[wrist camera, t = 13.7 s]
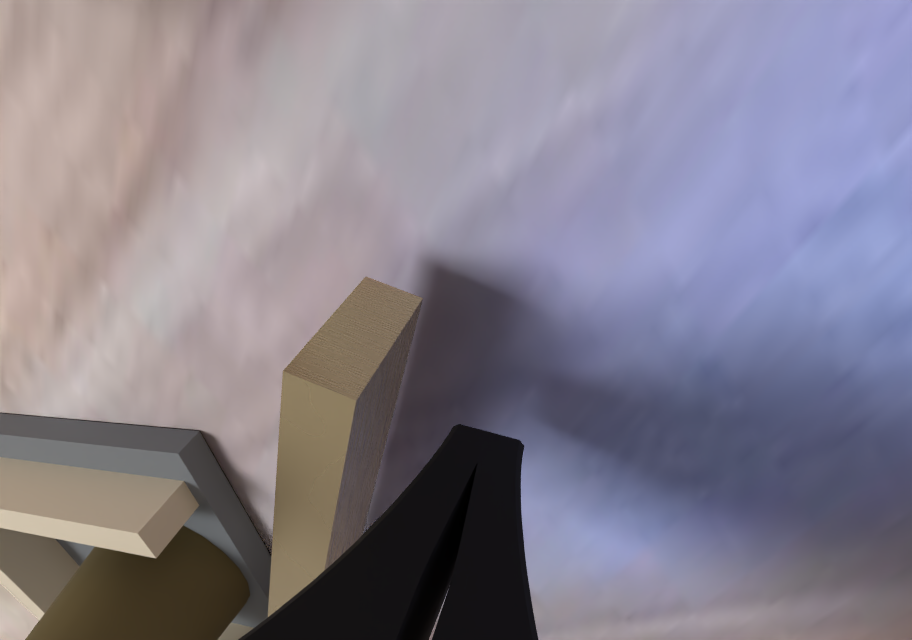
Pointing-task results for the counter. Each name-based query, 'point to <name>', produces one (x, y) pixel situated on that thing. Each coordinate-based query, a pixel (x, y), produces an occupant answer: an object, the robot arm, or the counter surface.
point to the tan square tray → (114, 505)
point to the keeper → (336, 432)
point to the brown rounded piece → (148, 595)
